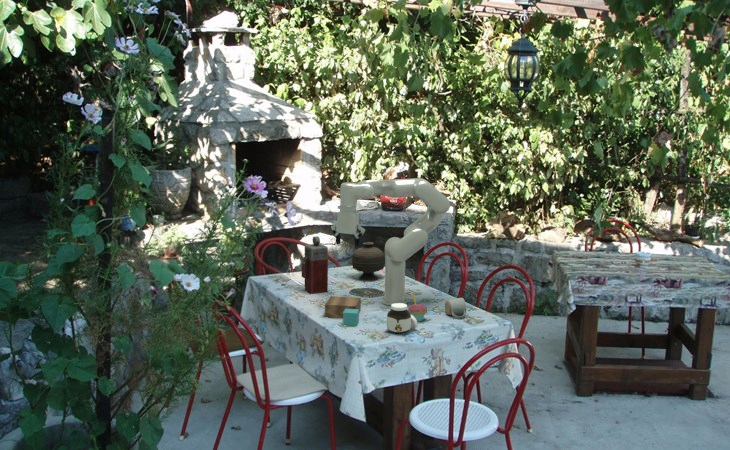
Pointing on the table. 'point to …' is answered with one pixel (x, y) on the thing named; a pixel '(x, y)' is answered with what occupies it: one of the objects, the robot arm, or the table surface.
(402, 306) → the spread jar
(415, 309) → the cupcake
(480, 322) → the table surface
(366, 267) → the pot
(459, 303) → the ceramic mug
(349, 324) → the teal block
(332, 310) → the walnut base
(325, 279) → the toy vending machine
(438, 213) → the robot arm
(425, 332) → the table surface
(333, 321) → the table surface
